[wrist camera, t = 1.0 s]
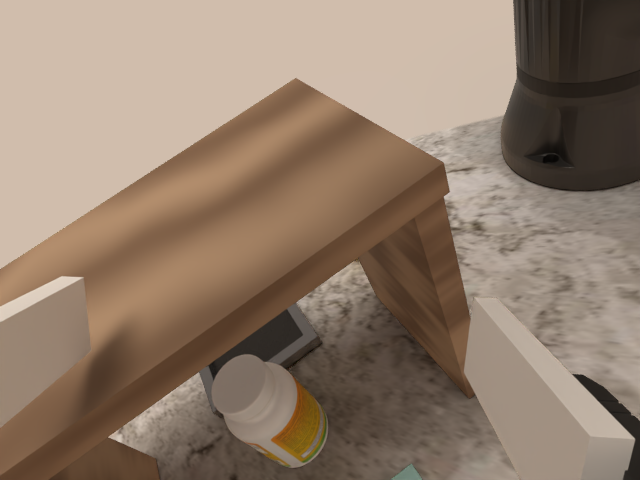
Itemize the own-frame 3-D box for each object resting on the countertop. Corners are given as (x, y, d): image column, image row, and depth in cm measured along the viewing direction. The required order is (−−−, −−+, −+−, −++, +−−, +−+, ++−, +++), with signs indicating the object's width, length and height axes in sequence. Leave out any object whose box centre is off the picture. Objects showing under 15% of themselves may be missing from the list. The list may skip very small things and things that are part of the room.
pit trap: (322, 342, 38) (317, 335, 37) (220, 417, 37) (212, 412, 36) (275, 272, 46) (271, 265, 45) (190, 332, 45) (184, 326, 44)
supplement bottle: (325, 390, 35) (274, 333, 28) (334, 459, 31) (278, 412, 24) (266, 407, 36) (204, 356, 29) (268, 476, 32) (197, 436, 25)
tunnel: (490, 391, 30) (443, 162, 15) (169, 646, 27) (-268, 664, 12) (386, 283, 39) (295, 78, 25) (139, 464, 36) (-129, 352, 22)
